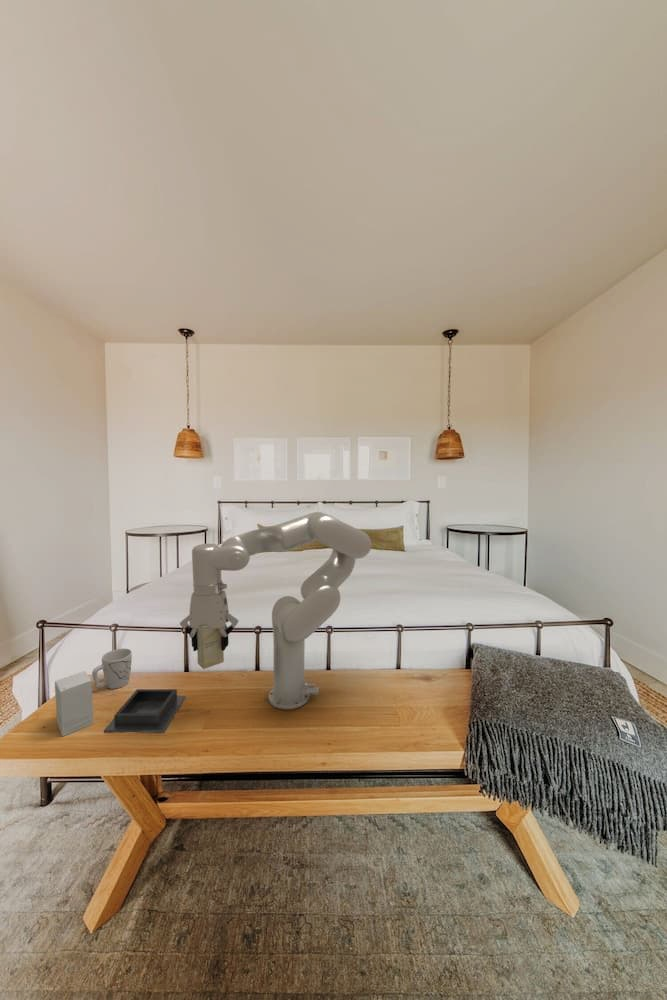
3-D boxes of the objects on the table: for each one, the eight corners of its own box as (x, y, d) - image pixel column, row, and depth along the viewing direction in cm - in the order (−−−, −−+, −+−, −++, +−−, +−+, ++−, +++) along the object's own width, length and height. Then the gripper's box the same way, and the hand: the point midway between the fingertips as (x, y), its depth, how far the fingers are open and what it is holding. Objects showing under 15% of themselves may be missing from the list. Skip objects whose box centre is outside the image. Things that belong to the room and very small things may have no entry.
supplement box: (94, 724, 102) (92, 680, 101) (61, 737, 97) (59, 692, 96) (87, 711, 108) (85, 670, 107) (56, 723, 102) (53, 680, 101)
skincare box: (203, 670, 102) (201, 627, 101) (197, 663, 105) (195, 622, 104) (224, 661, 106) (223, 621, 105) (218, 656, 109) (216, 616, 108)
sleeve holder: (185, 698, 114) (185, 686, 114) (163, 732, 99) (163, 719, 99) (133, 698, 114) (133, 686, 114) (104, 732, 99) (103, 719, 99)
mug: (99, 699, 113) (97, 668, 112) (88, 689, 118) (86, 659, 117) (137, 682, 122) (136, 653, 121) (125, 673, 127) (124, 645, 127)
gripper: (242, 583, 107) (244, 641, 109) (182, 584, 107) (185, 642, 109) (235, 592, 100) (237, 654, 102) (171, 593, 100) (174, 655, 101)
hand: (210, 648), depth 105 cm, fingers closed on skincare box, 7 cm apart
